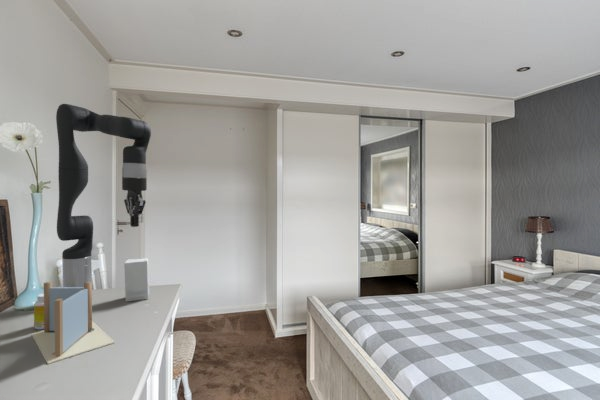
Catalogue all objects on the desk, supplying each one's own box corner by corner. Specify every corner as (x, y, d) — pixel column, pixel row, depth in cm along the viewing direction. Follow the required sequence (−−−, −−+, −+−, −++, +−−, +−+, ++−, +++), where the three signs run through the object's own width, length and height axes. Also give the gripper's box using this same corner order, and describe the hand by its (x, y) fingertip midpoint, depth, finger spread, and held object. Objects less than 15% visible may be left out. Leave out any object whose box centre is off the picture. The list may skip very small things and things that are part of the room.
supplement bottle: (47, 330, 96) (47, 297, 96) (29, 330, 96) (29, 297, 96) (61, 322, 102) (60, 291, 101) (43, 322, 102) (43, 291, 101)
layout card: (31, 334, 93) (31, 333, 93) (90, 319, 104) (90, 318, 104) (47, 364, 78) (47, 362, 78) (114, 342, 89) (114, 341, 89)
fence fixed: (42, 333, 94) (41, 283, 93) (47, 330, 96) (47, 281, 95) (89, 333, 95) (89, 283, 94) (93, 330, 97) (93, 281, 96)
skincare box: (149, 294, 130) (149, 257, 129) (148, 299, 124) (148, 261, 123) (127, 296, 127) (127, 258, 126) (124, 302, 121) (124, 262, 120)
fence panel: (83, 331, 94) (83, 284, 94) (87, 331, 94) (87, 284, 94) (54, 355, 80) (54, 300, 80) (60, 355, 81) (59, 300, 80)
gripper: (115, 176, 110) (116, 225, 110) (130, 176, 101) (130, 229, 101) (138, 177, 115) (138, 224, 116) (153, 177, 106) (153, 227, 107)
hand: (134, 226), depth 109 cm, fingers closed
